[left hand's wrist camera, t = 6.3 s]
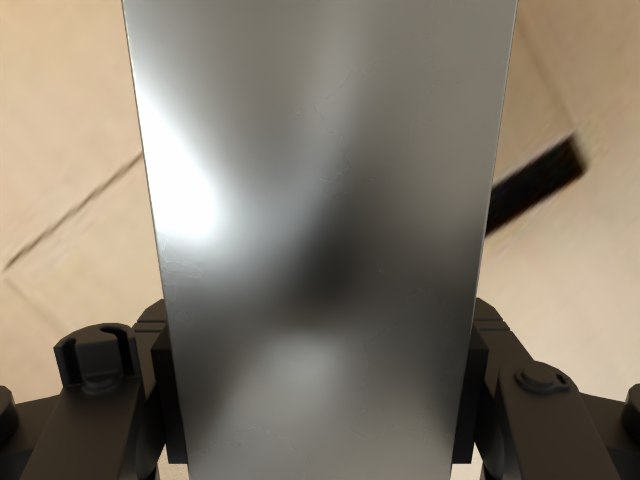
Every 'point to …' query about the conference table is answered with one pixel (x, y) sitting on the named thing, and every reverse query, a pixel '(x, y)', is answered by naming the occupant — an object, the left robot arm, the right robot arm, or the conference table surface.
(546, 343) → the conference table surface
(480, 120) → the bar
